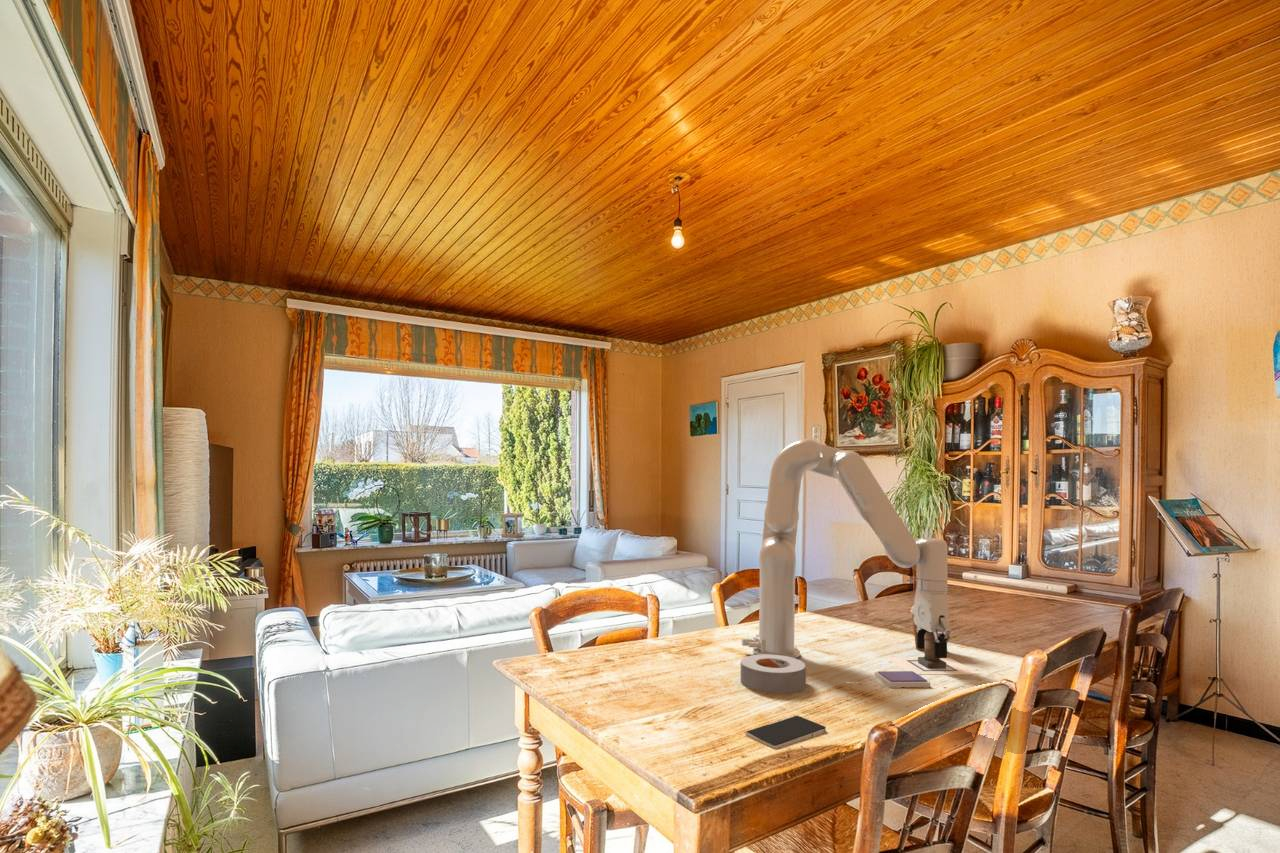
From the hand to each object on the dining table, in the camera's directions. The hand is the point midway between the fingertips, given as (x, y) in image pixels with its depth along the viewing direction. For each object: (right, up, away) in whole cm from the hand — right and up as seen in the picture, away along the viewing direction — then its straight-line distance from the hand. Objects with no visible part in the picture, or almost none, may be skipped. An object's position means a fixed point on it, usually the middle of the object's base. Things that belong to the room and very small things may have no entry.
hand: (931, 652), depth 180 cm
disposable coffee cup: (+5, -5, +15) cm, 17 cm away
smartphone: (-48, -1, -46) cm, 67 cm away
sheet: (0, -4, 0) cm, 4 cm away
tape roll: (-45, -2, -16) cm, 48 cm away
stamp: (0, -3, 0) cm, 3 cm away
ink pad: (-13, -3, -13) cm, 19 cm away
